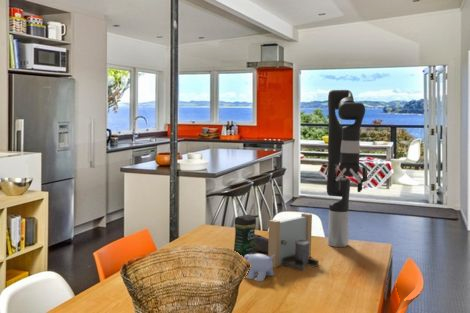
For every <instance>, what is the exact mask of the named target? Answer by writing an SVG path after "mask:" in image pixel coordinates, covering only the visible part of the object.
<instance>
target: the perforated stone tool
mask: <svg viewBox="0 0 470 313" xmlns="http://www.w3.org/2000/svg"><path fill="white" fill-rule="evenodd" d="M268 243H269V237H268V238H267V237H265V236H262V235H260V234H256V233H255V251H258V252H262V253H266V254H268Z"/></svg>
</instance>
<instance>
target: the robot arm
mask: <svg viewBox="0 0 470 313" xmlns="http://www.w3.org/2000/svg"><path fill="white" fill-rule="evenodd" d="M327 108H328V110H327V111H328V136H327V137H328V138H327V139H328V140H327V177H326V193H327V195H328V196H330V197H341V199H340V200H338V201H334V202H332V203H330V204H329V205H328V230H327V232H328V233H327V245H328V246H330V247H334V248H346V247H347V246H348V245H349V205H350V204H349V202H350V200H349V199H350V192H351V190H350V189H351V182H350V181H351V180H350V179H349V178H348V177H350V178H351V177H354V179H355V180H356V181H357V189H356V190H357V193H361V191H362V190H363V183H365V182H367V181H368V167H367V166H360V154H361V153H360V151H361V150H360V148H361V145H360V140H361V139H360V135H361V134H360V132H361V127H362V123H363V120H364V116H365V113H366V106H365V105H364V104H363V103H362V102H356V101H354V96H353V93H352V91H351V90H348V89H332V90H330V91H329V92H328V96H327ZM336 110H338V112H337V113H338V116H337V114H336ZM338 117H339V118H340V119H341V120H344V121H354V123H352V124H349V125H345V126H342V125H341V123H340V121H339V120H338ZM338 170H340V173H339V174H337V173H338ZM359 172H361V173H362V177H361V175H360V174H359ZM337 175H338V176H337Z"/></svg>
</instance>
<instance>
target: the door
mask: <svg viewBox="0 0 470 313" xmlns="http://www.w3.org/2000/svg"><path fill="white" fill-rule="evenodd" d="M312 225H313V214H311V213H306V212H304V213H301V216H297V217H294V218H290V219H283V220H276V219H269V220H268V239H269V243H268V253H267V256H268V257H271V256H272V255H275V256H273V258H272V262H273V268H277V267H280V266H281V265H283V258H285V257H288V256H291V255H295V248H296V243H295V241H297V240H301V239H302V240H306V241H310V243H309V258H310V257H311V255H312V231H313V230H312V228H313V226H312Z"/></svg>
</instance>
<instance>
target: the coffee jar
mask: <svg viewBox="0 0 470 313" xmlns="http://www.w3.org/2000/svg"><path fill="white" fill-rule="evenodd" d="M256 219H257V217H256V216H255V215H252V214H245V215H244V214H243V215H240V216H236V217H234V229H235V232H234V233H235V234H234V244H233V252H234V251H236V252H238V253H239V254H240V255H242V256H243V257H244V256H245V255H247V254H249V255H250V254H256V250H255V234H256V233H255V229H256V227H257V226H256V225H257V221H256Z"/></svg>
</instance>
